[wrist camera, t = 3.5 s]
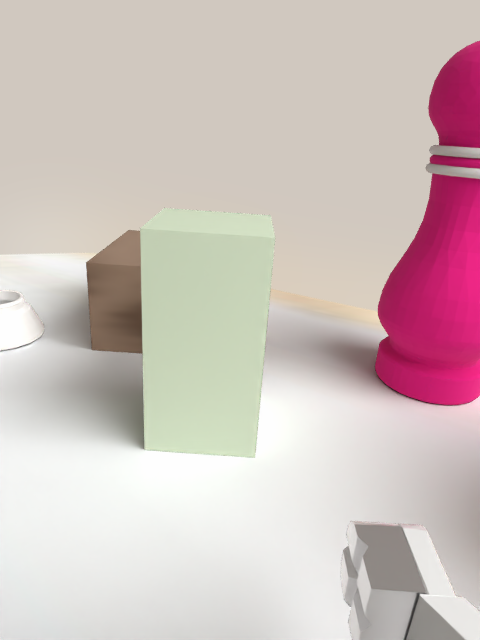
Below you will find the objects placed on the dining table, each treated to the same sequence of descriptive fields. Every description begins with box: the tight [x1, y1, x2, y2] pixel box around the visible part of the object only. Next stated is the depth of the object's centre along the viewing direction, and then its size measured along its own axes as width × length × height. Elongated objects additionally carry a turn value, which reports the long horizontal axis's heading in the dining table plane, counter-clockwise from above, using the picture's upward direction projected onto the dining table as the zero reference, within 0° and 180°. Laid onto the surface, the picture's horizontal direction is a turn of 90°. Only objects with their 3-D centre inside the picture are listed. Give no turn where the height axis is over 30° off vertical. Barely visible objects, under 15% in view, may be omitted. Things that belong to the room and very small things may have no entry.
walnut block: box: [86, 230, 143, 354], centre depth 33 cm, size 10×10×6 cm
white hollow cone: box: [0, 290, 44, 351], centre depth 30 cm, size 5×3×5 cm
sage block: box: [140, 208, 275, 458], centre depth 21 cm, size 5×5×10 cm
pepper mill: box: [375, 41, 480, 405], centre depth 25 cm, size 7×7×20 cm
